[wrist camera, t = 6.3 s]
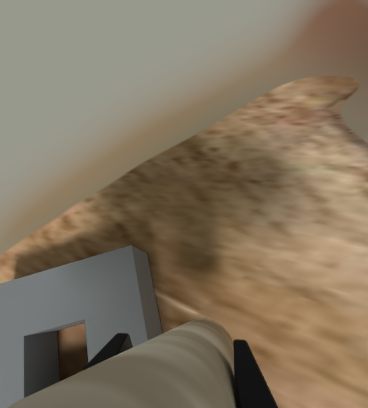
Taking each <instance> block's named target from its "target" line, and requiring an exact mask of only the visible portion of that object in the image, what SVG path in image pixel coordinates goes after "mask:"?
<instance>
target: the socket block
mask: <svg viewBox="0 0 368 408" xmlns="http://www.w3.org/2000/svg"><path fill="white" fill-rule="evenodd" d="M82 323H85V329H86V341H87V352H88V363H89V362H90V360H91V359H92V358H93V357H94V356H95V355H96V354H97V353H98V352H99V351H100V350H101V349H102V348H103V347H104V346H105V345H106V344H107V343H108V342H109V341H110V340H111V339H112V338H113V337H114V336H115V335H116V334H117V333H128V334H129V335H130V338H131V342H132V346H133V347H135V346H137V345H139V344H141V343H144V342H146V341H148V340H150V339H152V338H154V337H156V336H159V335H161V334H162V329H161V323H160V318H159V313H158V308H157V303H156V297H155V292H154V287H153V282H152V277H151V272H150V266H149V261H148V256H147V253H145V252H144V251H142V250H140V249H138V248H136V247H134V246H133V245H129V246H126V247H123V248H119V249H116V250H112V251H109V252H106V253H102V254H99V255H96V256H92V257H89V258H86V259H82V260H79V261H75V262H72V263H69V264H65V265H62V266H59V267H55V268H52V269H48V270H45V271H42V272H38V273H35V274H32V275H28V276H25V277H22V278H18V279H15V280H11V281H8V282H5V283H1V284H0V408H7V407H9V406H10V405H12V404H14V403H15V402H17V401H19V400H21V399H23V398H25V397H28V396H30V395H32V394H34V393H36V392H38V391H40V390H43V389H45V388H47V387H49V386H51V385H53V384H55V383H58V382H60V378H59V357H58V337H57V330H60V329H64V328H68V327H71V326H75V325H78V324H82Z"/></svg>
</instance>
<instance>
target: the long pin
mask: <svg viewBox="0 0 368 408" xmlns="http://www.w3.org/2000/svg"><path fill="white" fill-rule="evenodd" d="M7 408H237V403H236V396H235V382H234V350H233V341H232V338H231V337H230V335H229V333H228V332H227V331H226V330H225V328H224V327H222V326H221V325H220V324H219V323H217V322H215V321H213V320H210V319H206V318H198V319H194V320H191V321H189V322H187V323H184V324H182V325H180V326H178V327H176V328H174V329H171V330H169V331H167V332H165V333H163V334H161V335H159V336H156V337H154V338H152V339H150V340H148V341H146V342H144V343H141V344H139V345H137V346H135V347H133V348H131V349H129V350H126V351H124V352H122V353H120V354H118V355H116V356H113V357H111V358H109V359H107V360H105V361H103V362H101V363H98V364H96V365H94V366H92V367H90V368H88V369H86V370H83V371H81V372H79V373H77V374H75V375H73V376H71V377H68V378H66V379H64V380H62V381H60V382H58V383H55V384H53V385H51V386H49V387H47V388H45V389H43V390H40V391H38V392H36V393H34V394H32V395H30V396H28V397H25V398H23V399H21V400H19V401H17V402H15V403H14V404H12V405H10V406H9V407H7Z"/></svg>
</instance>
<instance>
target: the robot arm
mask: <svg viewBox="0 0 368 408" xmlns="http://www.w3.org/2000/svg"><path fill="white" fill-rule="evenodd" d="M131 348H133V346H132V342H131V338H130V335H129V334H128V333H117V334H116V335H115V336H114V337H113V338H112V339H111V340H110V341H109V342H108V343H107V344H106V345H105V346H104V347H103V348H102V349H101V350H100V351H99V352H98V353H97V354H96V355H95V356H94V357H93V358H92V359H91V360H90V362H89V363H88V364H87V365H86V366H85V367H84V368H83V369H82V370H81V371H83V370H86V369H88V368H90V367H92V366H94V365H96V364H98V363H101V362H103V361H105V360H107V359H109V358H111V357H113V356H116V355H118V354H120V353H122V352H124V351H126V350H129V349H131ZM233 350H234V382H235V396H236V403H237V408H278V406H277V404H276V402H275V400H274V398H273V396H272V394H271V391H270V389H269V387H268V385H267V383H266V381H265V379H264V377H263V375H262V373H261V371H260V368H259V366H258V364H257V362H256V360H255V358H254V356H253V354H252V352H251V350H250V347H249V345H248V343H247V342H246V341H245V340H237V339H235V340H234V341H233ZM81 371H80V372H81Z"/></svg>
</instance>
